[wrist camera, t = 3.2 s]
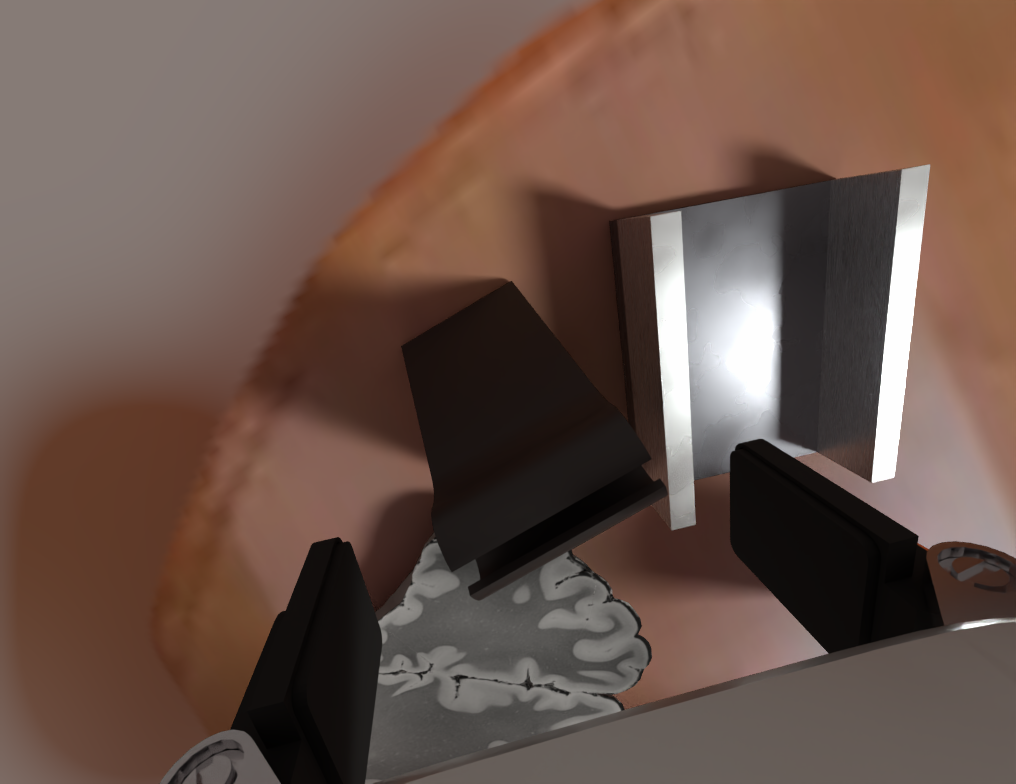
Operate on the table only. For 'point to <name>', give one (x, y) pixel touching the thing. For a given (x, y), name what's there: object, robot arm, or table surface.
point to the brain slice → (496, 660)
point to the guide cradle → (770, 326)
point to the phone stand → (518, 442)
